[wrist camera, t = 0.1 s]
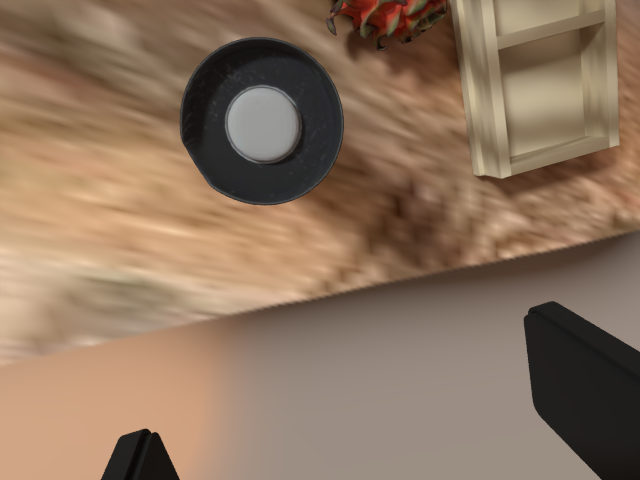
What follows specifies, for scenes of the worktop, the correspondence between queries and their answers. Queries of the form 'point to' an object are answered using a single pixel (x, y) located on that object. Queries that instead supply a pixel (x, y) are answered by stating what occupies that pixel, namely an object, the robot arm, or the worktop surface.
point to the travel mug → (261, 121)
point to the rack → (536, 80)
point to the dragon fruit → (389, 17)
